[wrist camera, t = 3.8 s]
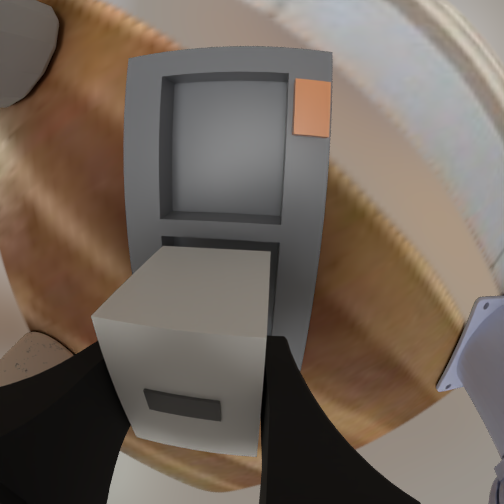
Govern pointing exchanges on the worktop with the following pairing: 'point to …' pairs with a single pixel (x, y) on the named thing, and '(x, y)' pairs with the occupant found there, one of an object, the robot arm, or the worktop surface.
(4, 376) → the teacup with lid
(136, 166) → the grey divided tray
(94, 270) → the worktop surface
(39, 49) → the water bottle
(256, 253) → the block
